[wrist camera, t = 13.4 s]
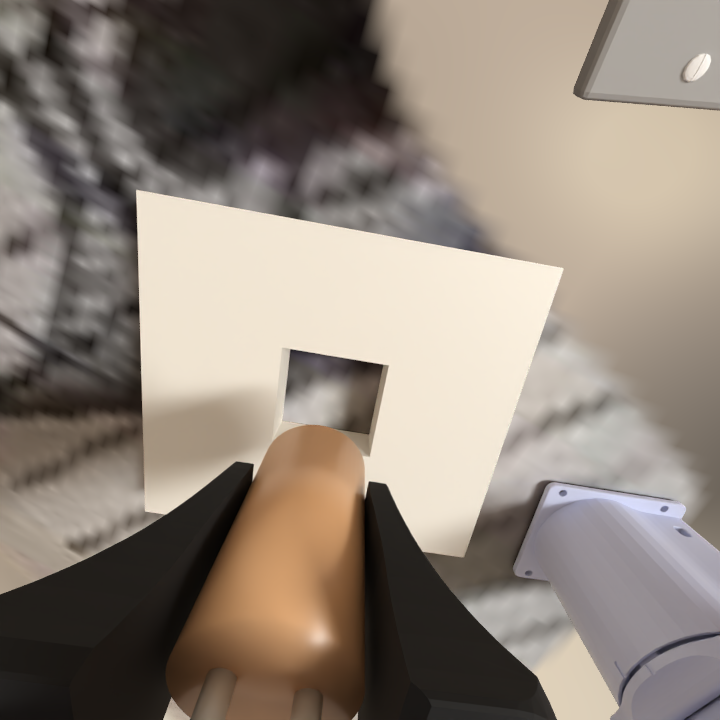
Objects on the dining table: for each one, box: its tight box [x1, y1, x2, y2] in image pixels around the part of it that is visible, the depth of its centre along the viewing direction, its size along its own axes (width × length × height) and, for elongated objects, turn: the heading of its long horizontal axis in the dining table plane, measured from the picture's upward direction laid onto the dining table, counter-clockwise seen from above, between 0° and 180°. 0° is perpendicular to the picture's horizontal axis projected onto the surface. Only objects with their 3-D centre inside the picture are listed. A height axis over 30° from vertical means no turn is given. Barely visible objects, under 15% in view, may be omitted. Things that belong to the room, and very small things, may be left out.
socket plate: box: [136, 190, 563, 558], centre depth 20 cm, size 20×18×2 cm
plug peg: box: [165, 425, 365, 720], centre depth 10 cm, size 4×4×8 cm
